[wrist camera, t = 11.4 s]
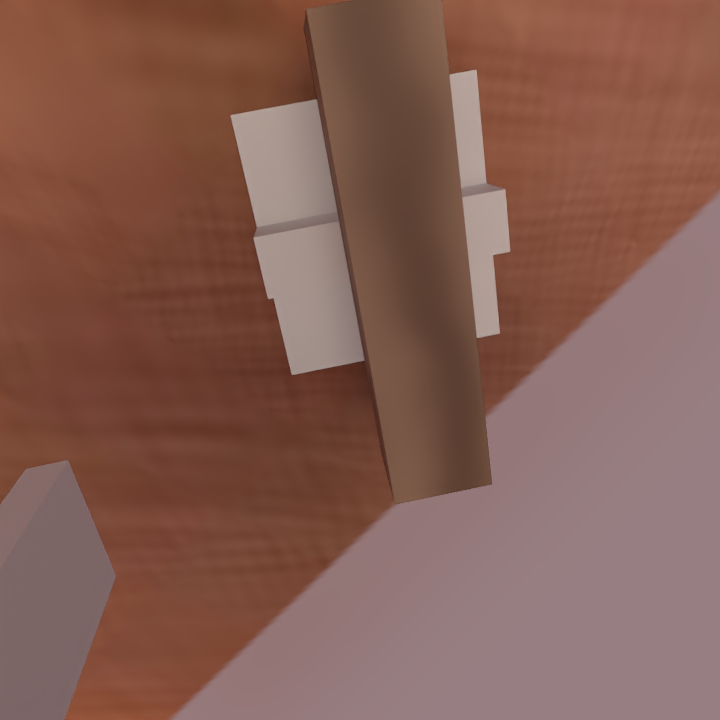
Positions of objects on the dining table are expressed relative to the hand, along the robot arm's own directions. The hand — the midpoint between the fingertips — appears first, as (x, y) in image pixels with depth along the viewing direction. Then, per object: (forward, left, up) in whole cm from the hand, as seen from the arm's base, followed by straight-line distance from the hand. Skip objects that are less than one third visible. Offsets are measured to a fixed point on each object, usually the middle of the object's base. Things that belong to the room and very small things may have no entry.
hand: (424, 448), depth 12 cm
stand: (+2, -1, -28) cm, 28 cm away
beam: (+3, -1, -20) cm, 20 cm away
